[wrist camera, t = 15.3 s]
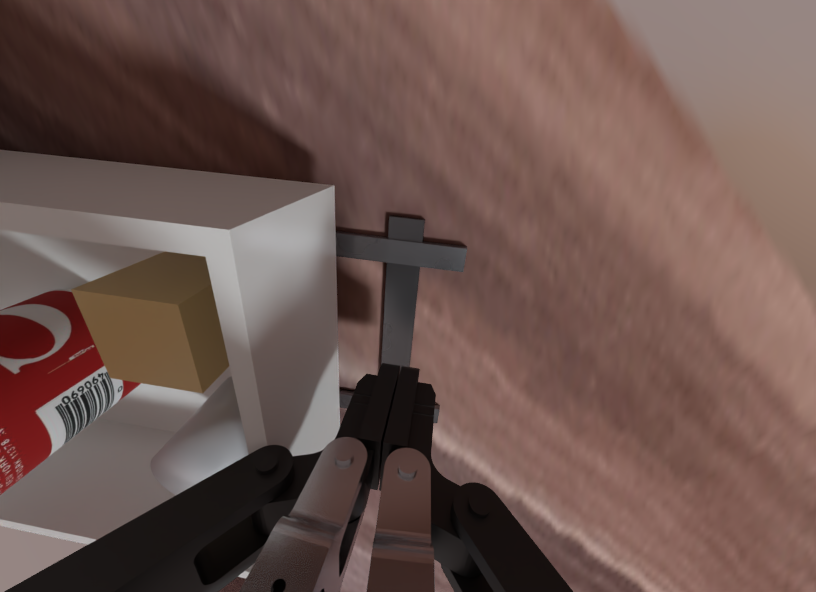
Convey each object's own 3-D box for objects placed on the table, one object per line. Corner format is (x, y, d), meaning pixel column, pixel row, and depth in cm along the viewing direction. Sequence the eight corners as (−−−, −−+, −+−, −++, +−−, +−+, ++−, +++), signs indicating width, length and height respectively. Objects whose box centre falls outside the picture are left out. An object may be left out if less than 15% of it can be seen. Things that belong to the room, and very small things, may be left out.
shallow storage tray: (345, 439, 18) (292, 588, 12) (60, 390, 20) (-111, 502, 14) (342, 181, 12) (229, 230, 6) (-79, 137, 13) (-511, 139, 7)
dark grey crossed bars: (435, 430, 18) (435, 434, 18) (33, 363, 20) (27, 366, 20) (470, 224, 13) (470, 226, 12) (-82, 162, 15) (-92, 162, 14)
